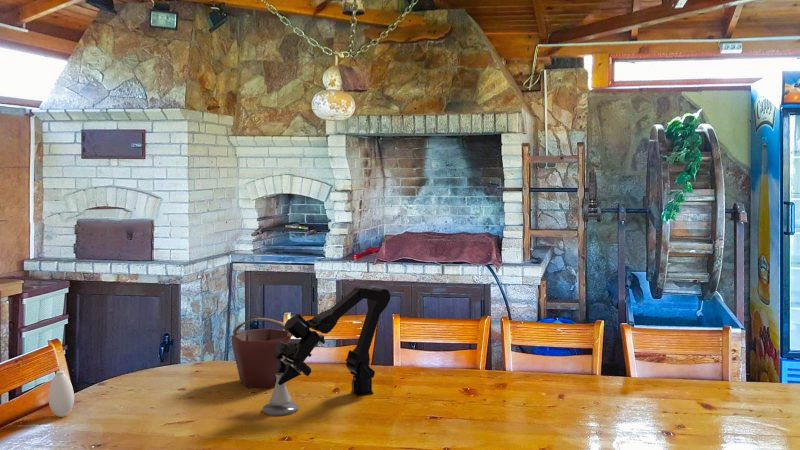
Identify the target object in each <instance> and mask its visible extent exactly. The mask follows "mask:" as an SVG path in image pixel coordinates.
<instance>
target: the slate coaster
mask: <svg viewBox="0 0 800 450" xmlns="http://www.w3.org/2000/svg"><path fill="white" fill-rule="evenodd" d="M298 411H299V405H298V404H297V402H293V401H292V402H291V403H289V404H287V405H281V406H279V405H272V404H271V403H269V402H268V403H266V404H265V405H264V406H263V407H262V412H263V413H264V415H268V416H272V417H273V416H274V417H281V416H282V417H283V416H289V415H292V414H295V413H296V412H298Z"/></svg>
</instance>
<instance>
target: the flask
mask: <svg viewBox="0 0 800 450" xmlns="http://www.w3.org/2000/svg"><path fill="white" fill-rule="evenodd" d="M283 374H284V373H277V374H275V375H276V385H275V387H273V388H274V389H273V391H272V393H271V397H270V399H269V402H268V404H269V403H271V404H272V405H279V406H281V405H287V404H289V403H291V402H293V401H292V398H291V395H290V393H289V390H288V388H287V385H286V382H285V383H283V384H282V385H279V384H278V382H279V380H280V378H281V377H282V375H283Z"/></svg>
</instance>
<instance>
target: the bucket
mask: <svg viewBox="0 0 800 450" xmlns="http://www.w3.org/2000/svg"><path fill="white" fill-rule="evenodd" d="M254 321H255V322H256V321H260V322H267V323H269V324H274V325H277V326H279V327H280V328H282V329H278V328H272V327H271V328H258V329H257V328H256V329H246V330H242V331H240V332H239V330H240V329H241V328H242V327H243V326H244V325H246V324H247V323H251V322H254ZM285 323H286V322H285ZM285 323H284V322H283V321H279V320H275V319H273V318H272V319H271V318H269V317H268V318H267V317H254V318H251V319H249V320H246V321H244V322H242V323H240V324H238V325H237V326H236V327H235V328H234V329H233V330H232V334H233V335H231V347H232V351H233V355H234V359H235V364H236V367H237V368H236V369H237V374H238V377H239V382H240V384H241V385H242V386H244V387H245V388H247V389H259V390H260V389H264V390H265V389H266V390H267V389H271V388H275V385H276V383H275V382H274V379H275V376H276V375H275V374H277V371H278V368H279V361H278V359H277V358H276V357H275V356H274V354H275V353H276V351H278V350H275V349H276V347H277V344H278V341H280V342H283V343H286V344H288V343H291V340H292V336H293V335H292V334H291V333H290V332H289V331H287V330H286V329H285Z"/></svg>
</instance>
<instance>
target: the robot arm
mask: <svg viewBox="0 0 800 450" xmlns="http://www.w3.org/2000/svg"><path fill="white" fill-rule="evenodd" d="M391 297H392V296H391V293H390V291H389V290H388V289H386V288H382V287H378V286H374V287H372V288H367V287H361V286H355V287H354V288H353V289H352V290H351V291H350V292H348V294H346V295H345V296H344V297H343V298H341V299H340V300H339V301H338V302H337V303H336V304H334V305H333V306H332V307H331V308H328V309H326V310H323V311H321V312H319V313H318V314H316V315H314V316H313V317H312V318H310V319H304V317H303V316H302V315H301V314H300V313H296V314H295V315H293V316H291V317H290V318H289V319H287V320H286V322H285V329H286V330H287V331H289V332H290V333H291V334H292V336H293V337H294V338H295V339H299V340H298V342H293V343H292V342H290V343H288V344H286V343H283V342H280V341H278V344H277V347H276V349H275V350H278V351H276V353H275V354H274V356H275V357H276V358H277V359H278V361H279V368H278V371H277V373H284V374H283V375H282V377H281V378H280V380H279V382H278V384H279V385H282V384H283V383H285V384H286V383H287V382H289V381H291V380H293V379H295V378H297V377H298V376H302V374H303V376H306V377H309V376H310V375H311V373H312V368H311V367H310V366H309V365H308V364H307V363H305V361H306V360H307V358H308V357H309V358H311V357H312V354H311V353H312V352H313V350H314V349H315V348H316V347H317V344H319V343H321V344H323V345H325V343H326V340H325V335H326V334H329V333H330V332H331V331H332V330H333V329H334V328H335V326H336V325H337V323H338V322H339V320H340V318H341V317H343V316H344V315H345V314H347V313H348V312H349V311H350V310H351V309H352V308H354V307H355V306H356V305H357V304H359V303H360V302H361V301H362V300H363V299H365V300H366V303H367V311H366V315H365V319H364V321H363V324H362V327H361V331H360V333H359V334H360V335H359V336H358V341H357V343H356V347H355V348H354V349H353V350H351V349H349V350H348V352H347V356H346V358H345V362H346V364H345V367H346V368H347V370H348V371H350V372H349V373H350V375H352V380H351V392H353V394H354V395H356V397H358V396H366V395H372V394H374V391H373V381H372V379H374V377H375V374H376V372H375V371H374V369H373V368H371V366H370V362H371V358H370V356H371V355H370V348H371V346H372V342H373V339H374V337H375V333H376V330H377V327H378V323H379V320H380V317H381V314H382V313H383V312H384V310H386V308H387V307H388V305H389V303H390V301H391ZM319 333H321V334H319ZM323 334H325V335H323ZM274 382H275V383H276V376H275V379H274Z"/></svg>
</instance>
